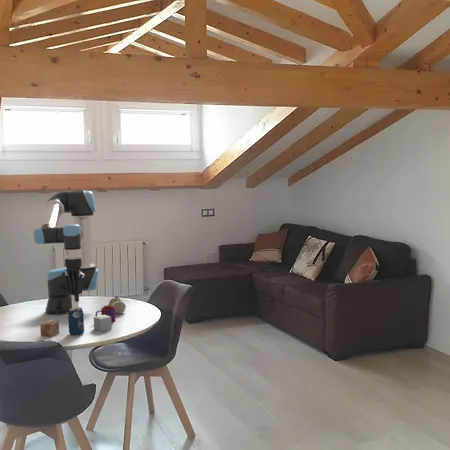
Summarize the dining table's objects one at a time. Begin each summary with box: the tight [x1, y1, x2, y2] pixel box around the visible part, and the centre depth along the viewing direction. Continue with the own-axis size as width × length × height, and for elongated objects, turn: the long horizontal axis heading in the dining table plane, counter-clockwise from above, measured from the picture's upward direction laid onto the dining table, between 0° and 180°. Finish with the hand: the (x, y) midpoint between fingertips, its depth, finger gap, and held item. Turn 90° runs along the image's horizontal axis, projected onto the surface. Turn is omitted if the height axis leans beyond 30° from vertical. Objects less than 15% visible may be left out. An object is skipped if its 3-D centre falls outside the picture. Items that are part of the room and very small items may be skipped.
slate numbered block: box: [93, 314, 113, 333], centre depth 272 cm, size 6×6×6 cm
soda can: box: [67, 306, 85, 337], centre depth 264 cm, size 7×7×12 cm
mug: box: [95, 306, 116, 324], centre depth 284 cm, size 7×10×7 cm
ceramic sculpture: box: [103, 296, 127, 315], centre depth 304 cm, size 11×9×15 cm
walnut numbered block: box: [39, 320, 60, 338], centre depth 264 cm, size 6×6×6 cm
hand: (75, 308), depth 263 cm, fingers closed
